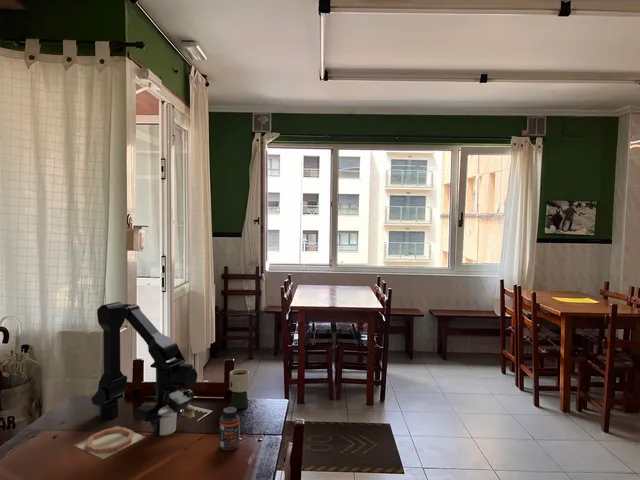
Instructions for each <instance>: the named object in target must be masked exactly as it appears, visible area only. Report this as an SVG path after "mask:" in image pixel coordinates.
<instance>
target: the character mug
mask: <svg viewBox="0 0 640 480" xmlns="http://www.w3.org/2000/svg"><path fill="white" fill-rule="evenodd" d="M229 390H230V391H231V392H232V394H231V399H230V400H231V401H230V407H234V408H236V409H237V410H240V409H241V410H242V409H246V408H247V407H248V406H249V399H248V392H247V391H249V390H250V370H248V369H246V368H237V369H233V370H231V371H230V372H229Z"/></svg>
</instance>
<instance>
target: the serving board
mask: <svg viewBox="0 0 640 480" xmlns="http://www.w3.org/2000/svg"><path fill="white" fill-rule="evenodd" d="M120 427H121V426H119V425H115V426H113V427H112V428H120ZM128 436H129V435H127V434H124V433H122V432H118V433H109V434H105V435H103V436H101V437H99V438H96V439H94V441H93V443H92V444H93V445H95V446H97V447H106V446H115V445H117V444H119V443H121V442H123V441H125V440H127V439H128ZM145 438H146V436H144V435H141V434H139V433H136V432H134V436H133V439H132V442H131V443H130V444H128V445H126V446H124V447H122V448H120V449H118V450H115V451H110V452H102V453H97V452H96V453H95V452H93V451H91V450H88V449H86V443H87V441H88V439H89V438H86V439H85V440H82V441H80V442H78V443H75V444H74V445H73V446H74V447H77V448H79V449H81V450H82V451H85V452H87V453H89V454H92V455H93V456H95V457H97V458H100V459H102V460H104V459H106V458H108V457H110V456H113V455H114V454H116V453H118V452H120V451H123V450H124V449H126V448H128V447H129V446H132V445H133V444H136V443H138V442H140V441H141V440H143V439H145Z"/></svg>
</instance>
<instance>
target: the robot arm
mask: <svg viewBox="0 0 640 480" xmlns="http://www.w3.org/2000/svg"><path fill="white" fill-rule="evenodd" d="M96 315H97V323H98V325H99V326H100V327H101V329H102V330H103V374H102V375H101V377H100V380H99V381H98V386H97V387H98V388H97V391H96V392H95V393H94V394H93V396H92V397H91V403H92V405H93V406H97V407H98V409H97V411H98V418H99V419H101V420H114V419H117V418H119V417H120V414H119V413H120V411H119V410H120V409H119V400H120V399H122V398H124V395H125V392H127V388H129V385H128V376H127V375H124V374H123V372H122V371H121V328H122V326H123V324H124V323H125V320H126V321H127V322H128V323H129V324H130V325H131V327H132V328H133V329H134V330H135V331H136V333H138V335H139V336H140V337H141V338H142V339H143V341H144V342H145V343H146V344H147V349H148V354H149V355H150V357H151V358H152V360H153V363H151V364H150V366H149V367H150V368H154V369H155V384H154V385H153V387H152V390H154V391H155V397H154V398H152V399H153V403H155V404H154V405H150V404H147V403H146V404H144V405H141V406H139V407H137V408H136V409H135V410H134V418H136V419H138V420H141V421H144V422H149V424H150V426H151V428H152V430H153V432H154V434H155V435H156V436H160V435H159V432H160V419H161V418H162V416H161V415H159V411H160V410H161V409H166V408H168V407H169V408H171V409H173V411H174V412H177V420H176V424H177V423H178V420H179V418H180V414H181V412H182V411H181V410H183V409H186V408H187V406H188V405H189V404H190V403H191V402H193V401H194V400H195V399H194V397H195V395H194V392H193V390H191V388H193V387H194V386H195V385H196V382H197V380H198V376H199V375H198V373H197V370H196V369H195V368H194V365H193V364H192V363H191V364H190V363H189V364H187V363H185V362H186V359H185V357H184V355H183V354H182V351H181V350H180V349H179V345H178V343H176V341H175V340H173V339H172V338H171V337H170V336H167V335H164V334H163V333H161V332H160V331H159V330H158V329H157V327H156V326H155V325H154V324H153V323H152V322H151V320H149V318H148V317H147V316H146V315H145V314H144V313H143V312H142V310H141V307H140V306H139V305H138V304H131V303H124V304H123V302H120V301H116V302H110V303H106V304H102V305H100V306H99V308H97V312H96ZM179 387H183V388H179ZM186 388H187V389H186Z"/></svg>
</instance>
